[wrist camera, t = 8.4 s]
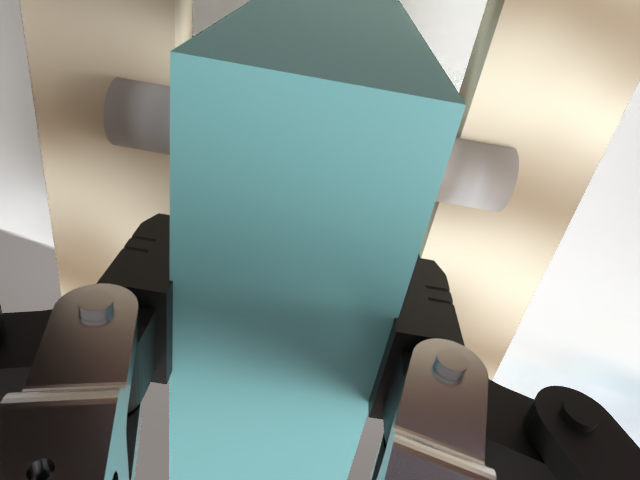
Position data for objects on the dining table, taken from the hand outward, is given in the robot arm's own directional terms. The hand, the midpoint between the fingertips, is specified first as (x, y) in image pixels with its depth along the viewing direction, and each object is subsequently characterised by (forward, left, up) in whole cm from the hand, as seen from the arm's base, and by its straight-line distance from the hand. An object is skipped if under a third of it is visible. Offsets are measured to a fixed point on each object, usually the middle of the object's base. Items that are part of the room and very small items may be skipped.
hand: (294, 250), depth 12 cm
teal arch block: (0, 0, -9) cm, 9 cm away
